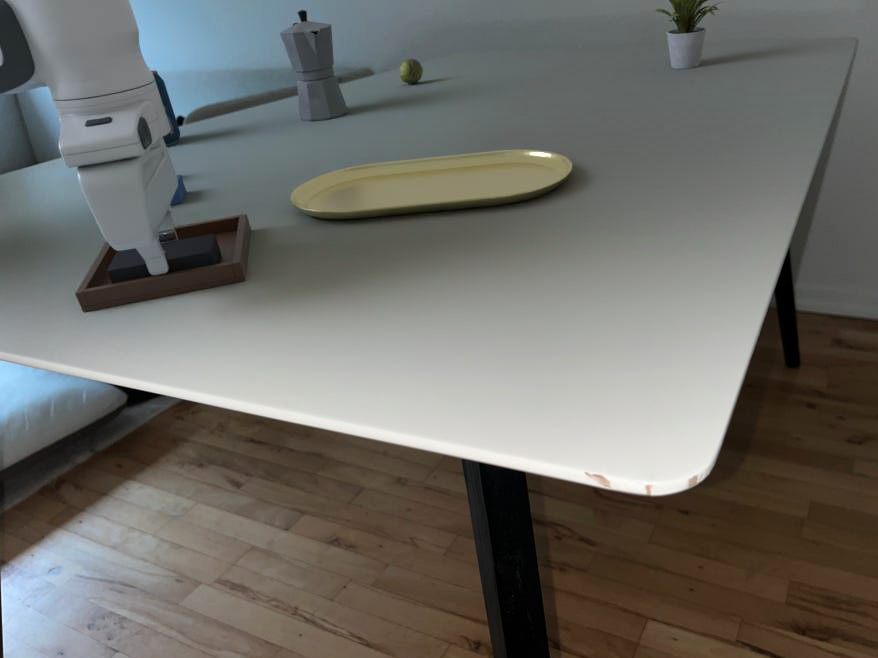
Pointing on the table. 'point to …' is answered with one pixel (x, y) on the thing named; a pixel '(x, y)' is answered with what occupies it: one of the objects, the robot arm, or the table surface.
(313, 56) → the coffeepot
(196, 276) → the tray
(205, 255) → the pad charcoal
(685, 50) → the house plant
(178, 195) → the pad blue
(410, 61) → the lime
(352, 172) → the serving platter
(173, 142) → the soda can
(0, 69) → the robot arm
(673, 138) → the table surface
